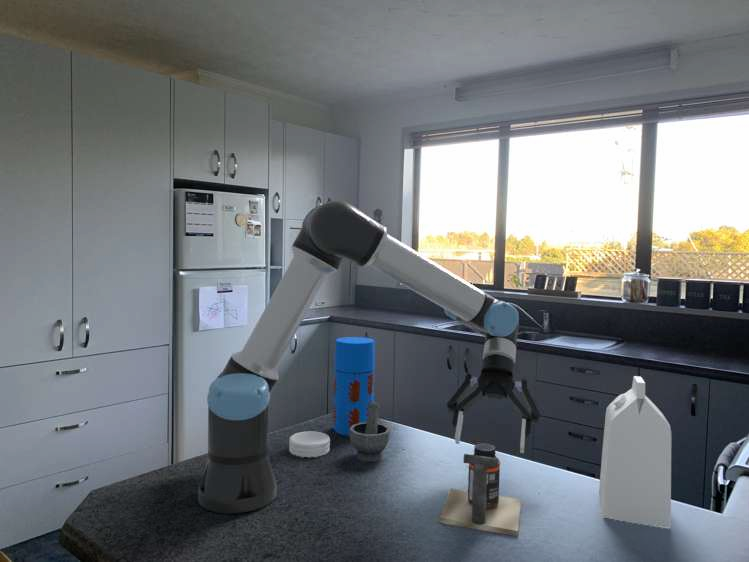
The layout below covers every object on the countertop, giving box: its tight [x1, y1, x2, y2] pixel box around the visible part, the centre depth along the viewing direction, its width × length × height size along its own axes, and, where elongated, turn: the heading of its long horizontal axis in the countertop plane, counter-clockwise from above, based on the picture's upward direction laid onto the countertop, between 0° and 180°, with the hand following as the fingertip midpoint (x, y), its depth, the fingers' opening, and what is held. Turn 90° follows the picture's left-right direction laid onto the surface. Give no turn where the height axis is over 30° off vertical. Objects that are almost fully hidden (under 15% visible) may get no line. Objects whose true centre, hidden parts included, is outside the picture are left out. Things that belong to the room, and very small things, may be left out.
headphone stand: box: [438, 453, 522, 537], centre depth 104 cm, size 14×13×13 cm
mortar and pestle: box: [349, 402, 391, 463], centre depth 132 cm, size 11×9×12 cm
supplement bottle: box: [467, 442, 501, 509], centre depth 106 cm, size 6×6×11 cm
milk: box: [598, 375, 672, 528], centre depth 107 cm, size 12×12×26 cm
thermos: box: [333, 336, 376, 437], centre depth 150 cm, size 11×11×25 cm
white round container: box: [288, 430, 331, 459], centre depth 135 cm, size 10×10×4 cm
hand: (488, 445), depth 116 cm, fingers open, 13 cm apart
